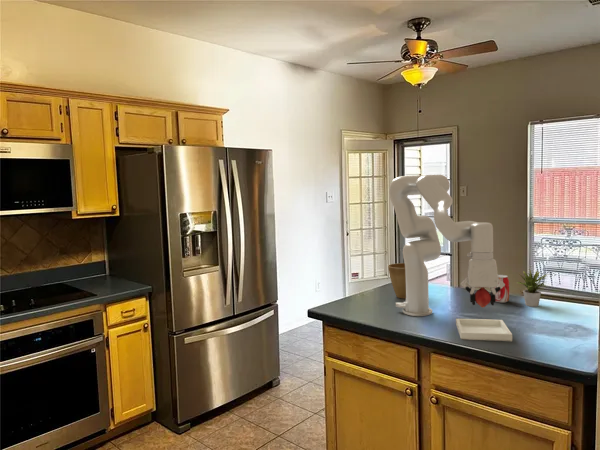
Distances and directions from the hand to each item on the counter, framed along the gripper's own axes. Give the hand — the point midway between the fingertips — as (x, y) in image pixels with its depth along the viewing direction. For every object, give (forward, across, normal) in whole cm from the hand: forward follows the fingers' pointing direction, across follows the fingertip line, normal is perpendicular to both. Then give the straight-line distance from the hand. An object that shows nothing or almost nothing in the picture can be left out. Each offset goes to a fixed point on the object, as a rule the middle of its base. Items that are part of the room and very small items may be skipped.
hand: (482, 303), depth 166 cm
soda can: (+11, +15, +46) cm, 50 cm away
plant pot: (+11, -29, +51) cm, 60 cm away
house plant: (+11, +27, +39) cm, 49 cm away
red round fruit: (+2, 0, 0) cm, 2 cm away
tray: (+11, 0, 0) cm, 11 cm away
